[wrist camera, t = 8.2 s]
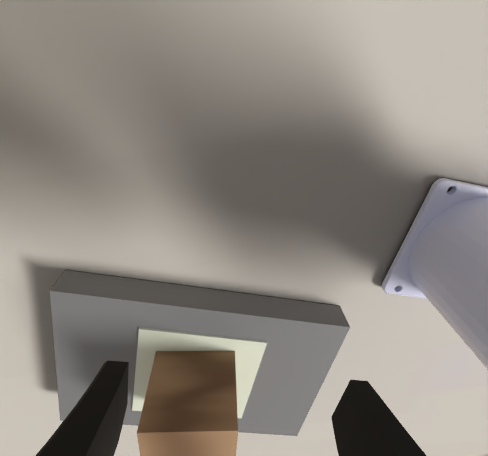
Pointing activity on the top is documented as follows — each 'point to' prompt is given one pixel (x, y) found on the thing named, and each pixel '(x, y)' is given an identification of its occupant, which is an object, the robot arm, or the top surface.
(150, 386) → the walnut cube
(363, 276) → the top surface
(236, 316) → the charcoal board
